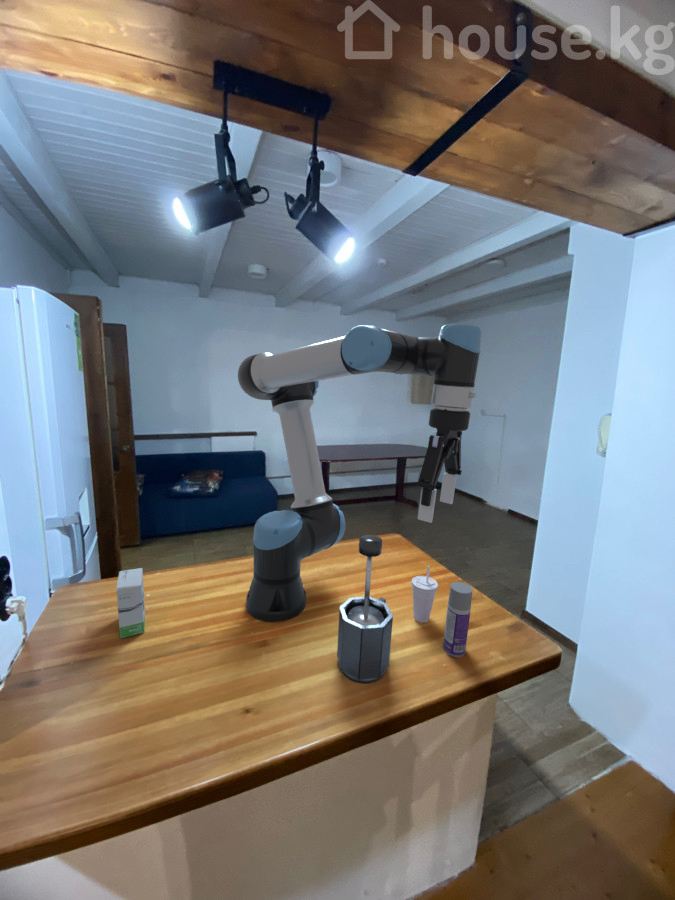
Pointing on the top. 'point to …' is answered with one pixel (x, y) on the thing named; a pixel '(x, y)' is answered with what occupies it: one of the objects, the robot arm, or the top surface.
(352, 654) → the mug
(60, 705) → the top surface
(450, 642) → the container
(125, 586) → the ink box
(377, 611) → the plunger
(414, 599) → the smoothie
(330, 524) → the robot arm
